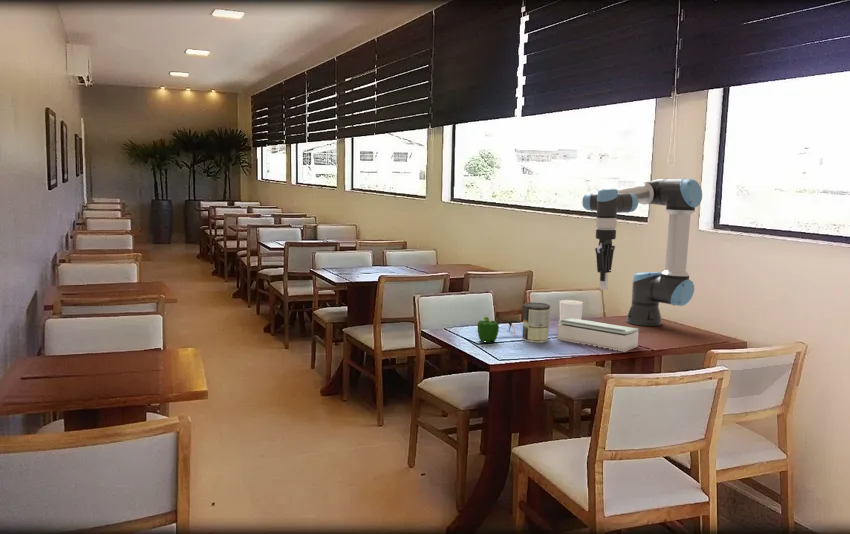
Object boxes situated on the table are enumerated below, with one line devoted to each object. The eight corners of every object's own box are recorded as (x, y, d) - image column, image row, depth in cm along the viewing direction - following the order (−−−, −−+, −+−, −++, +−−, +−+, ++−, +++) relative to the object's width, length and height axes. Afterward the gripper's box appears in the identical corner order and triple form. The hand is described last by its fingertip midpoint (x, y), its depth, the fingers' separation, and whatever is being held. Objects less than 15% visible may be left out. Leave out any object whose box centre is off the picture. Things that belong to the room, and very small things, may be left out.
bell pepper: (488, 338, 271) (489, 313, 270) (502, 342, 264) (503, 317, 263) (471, 340, 267) (472, 315, 265) (485, 344, 260) (486, 319, 259)
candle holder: (574, 326, 296) (575, 299, 295) (586, 331, 287) (587, 303, 286) (553, 327, 293) (555, 300, 292) (565, 332, 284) (566, 304, 283)
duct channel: (571, 334, 281) (572, 320, 280) (637, 346, 263) (638, 331, 263) (557, 339, 272) (558, 324, 271) (624, 351, 254) (625, 336, 253)
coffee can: (516, 339, 270) (518, 304, 268) (532, 335, 277) (533, 301, 276) (537, 344, 263) (539, 308, 261) (553, 340, 270) (555, 305, 268)
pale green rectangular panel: (572, 320, 280) (572, 316, 280) (638, 330, 263) (638, 327, 262) (558, 323, 271) (558, 319, 271) (625, 334, 253) (625, 330, 253)
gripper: (604, 227, 271) (601, 285, 274) (589, 229, 261) (587, 290, 264) (622, 228, 266) (619, 288, 270) (608, 230, 256) (605, 292, 260)
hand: (603, 289), depth 267 cm, fingers closed
